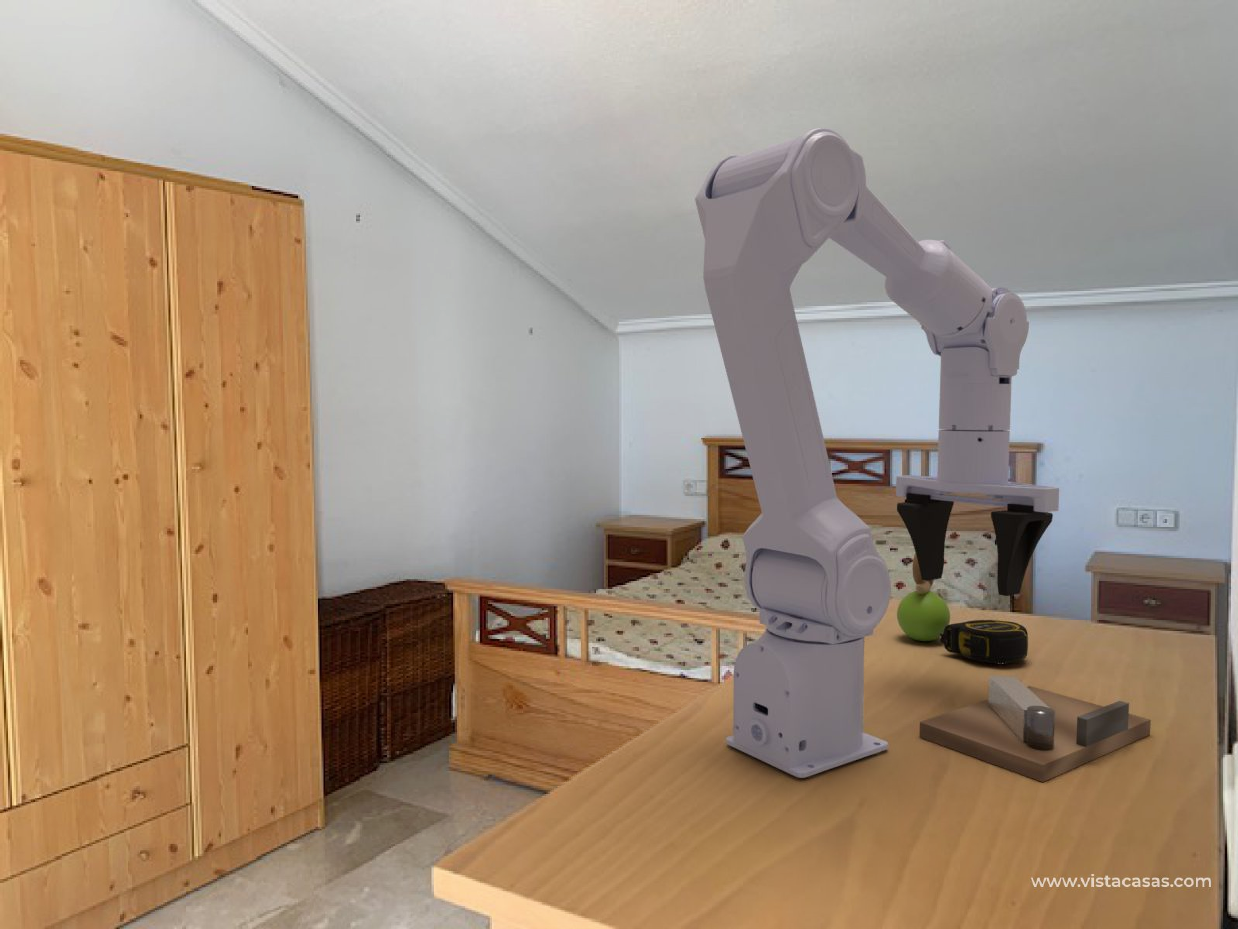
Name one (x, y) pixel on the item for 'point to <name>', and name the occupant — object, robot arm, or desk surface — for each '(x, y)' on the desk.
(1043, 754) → the walnut board
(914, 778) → the desk surface
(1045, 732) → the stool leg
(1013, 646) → the tape measure
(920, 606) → the snail figurine
